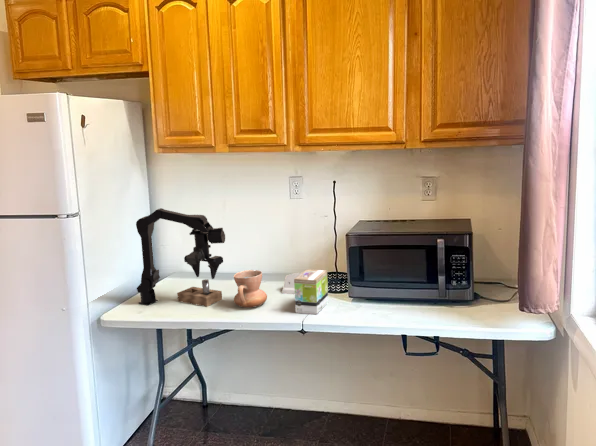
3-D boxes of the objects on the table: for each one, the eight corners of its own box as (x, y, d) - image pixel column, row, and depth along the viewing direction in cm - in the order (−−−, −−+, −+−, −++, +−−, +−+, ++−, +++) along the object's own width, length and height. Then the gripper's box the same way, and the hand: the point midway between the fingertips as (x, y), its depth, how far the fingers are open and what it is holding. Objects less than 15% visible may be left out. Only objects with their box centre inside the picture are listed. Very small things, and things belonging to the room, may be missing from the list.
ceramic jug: (245, 297, 248) (242, 267, 245) (274, 299, 242) (271, 268, 239) (225, 311, 231) (221, 279, 229) (255, 313, 226) (252, 281, 223)
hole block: (178, 301, 249) (177, 292, 248) (193, 294, 257) (192, 286, 256) (207, 306, 239) (206, 297, 238) (222, 299, 247) (221, 291, 246)
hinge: (281, 293, 250) (282, 271, 251) (285, 293, 254) (286, 272, 256) (315, 295, 244) (316, 273, 245) (319, 295, 248) (320, 273, 250)
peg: (202, 302, 245) (200, 280, 243) (207, 300, 247) (205, 279, 245) (207, 303, 243) (205, 281, 241) (212, 301, 246) (210, 279, 244)
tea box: (318, 314, 219) (316, 279, 217) (295, 313, 223) (292, 278, 220) (329, 302, 233) (327, 269, 230) (307, 301, 237) (304, 268, 234)
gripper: (173, 246, 239) (177, 280, 242) (204, 249, 229) (208, 285, 231) (191, 241, 248) (195, 274, 251) (222, 243, 238) (225, 278, 240)
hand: (205, 277), depth 243 cm, fingers open, 9 cm apart
